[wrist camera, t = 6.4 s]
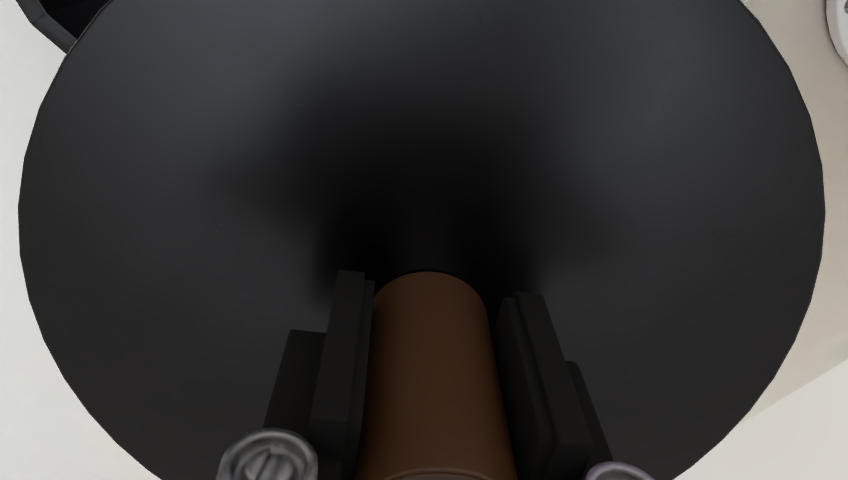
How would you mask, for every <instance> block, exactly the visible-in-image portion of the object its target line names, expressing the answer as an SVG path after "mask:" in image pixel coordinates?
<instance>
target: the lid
mask: <svg viewBox="0 0 848 480" xmlns="http://www.w3.org/2000/svg"><path fill="white" fill-rule="evenodd" d="M18 220H19V245H20V258H21V263H22V267H23V272H24V277H25V282H26V287H27V292H28V297H29V301H30V304H31V306H32V309H33V312H34V315H35V317H36V320H37V323H38V326H39V328H40V331H41V334H42V337H43V339H44V342H45V343H46V345H47V347H48V349H49V351H50V353H51V355H52V357H53V359H54V360H55V362H56V364H57V366H58V368H59V370H60V372H61V374H62V375H63V377H64V379H65V380H66V382H67V383H68V385H69V386H70V387H71V389H72V390H73V392H74V393H75V394H76V396H77V397H78V399H79V400H80V401H81V403H82V404H83V406H84V407H85V408H86V410H87V411H88V413H89V414H90V415H91V416H92V417H93V418H94V419H95V420H96V421H97V422H98V423H99V425H100V426H101V427H102V428H103V429H104V430H105V431H106V432H107V433H108V434H109V435H110V437H111V438H112V439H113V440H114V441H115V442H116V443H117V444H118V445H119V446H120V447H122V448H123V449H124V450H125V451H126V452H127V453H129V454H130V455H131V456H132V457H133V458H134V459H135V460H137V461H138V462H139V463H140V464H141V465H142V466H144V467H145V468H146V469H147V470H148V471H150V472H151V473H153V474H154V475H156V476H157V477H158V478H160V479H161V480H215V479H216V477H217V473H218V469H219V465H220V462H221V460H222V457H223V455H224V453H225V451H226V450H227V448H228V447H229V446H230V445H231V444H232V443H233V442H234V441H235V440H237V439H238V438H240V437H242V436H243V435H245V434H246V433H249V432H252V431H255V430H259V429H262V427H263V424H264V420H265V417H266V413H267V409H268V406H269V402H270V399H271V395H272V392H273V388H274V384H275V381H276V377H277V374H278V370H279V367H280V363H281V359H282V356H283V352H284V349H285V345H286V342H287V338H288V335H289V332H290V330H291V329H296V330H304V331H313V332H322V333H326V332H327V327H328V322H329V317H330V311H331V306H332V301H333V296H334V291H335V285H336V280H337V275H338V270H339V269H340V270H348V271H356V272H364V273H365V279H364V280H371V281H375V286H374V297H373V308H372V320H371V331H370V342H369V353H368V364H367V375H366V386H365V398H364V409H363V418H362V426H361V434H360V440H359V447H358V453H357V459H356V466H355V472H354V479H353V480H518V475H517V470H516V464H515V459H514V454H513V449H512V443H511V438H510V433H509V428H508V422H507V417H506V412H505V407H504V401H503V396H502V391H501V386H500V380H499V375H498V370H497V365H496V359H495V354H494V349H493V344H492V337H493V333H494V329H495V326H496V322H497V318H498V315H499V311H500V308H501V304H502V301H503V299H504V298H505V297H508V298H512V295H513V294H514V292H523V293H531V294H539V295H542V296H543V297H544V300H545V303H546V305H547V308H548V311H549V314H550V317H551V320H552V323H553V326H554V329H555V332H556V335H557V338H558V341H559V344H560V346H561V349H562V352H563V355H564V358H565V361H574V362H575V363H577V364H578V366H579V368H580V370H581V373H582V376H583V378H584V381H585V384H586V386H587V389H588V392H589V395H590V397H591V400H592V403H593V406H594V408H595V411H596V414H597V416H598V419H599V422H600V425H601V427H602V430H603V433H604V435H605V438H606V441H607V444H608V446H609V449H610V452H611V455H612V457H613V460H614V462H622V463H626V464H629V465H633V466H635V467H636V468H638V469H640V470H642V471H644V472H646V473H647V474H649V475H650V476H651V477H652V478H654V479H655V480H673V479H675V478H676V477H677V476H679V475H680V474H682V473H683V472H685V471H686V470H687V469H689V468H690V467H692V466H693V465H694V464H695V463H696V462H698V461H699V460H700V459H701V458H702V457H703V456H704V455H706V454H707V453H708V452H709V451H710V450H711V449H713V448H714V447H715V446H716V445H717V444H718V443H719V442H721V441H722V440H723V439H724V438H725V437H726V436H727V434H728V433H729V432H730V431H731V430H732V429H733V428H734V427H735V426H736V425H737V424H738V423H739V422H740V421H741V420H742V418H743V417H744V416H745V415H746V414H747V413H748V412H749V411H750V410H751V408H752V407H753V406H754V404H755V403H756V402H757V400H758V399H759V398H760V396H761V395H762V394H763V392H764V391H765V389H766V388H767V387H768V385H769V384H770V383H771V381H772V380H773V379H774V377H775V375H776V374H777V372H778V370H779V368H780V367H781V365H782V363H783V361H784V359H785V358H786V356H787V354H788V352H789V351H790V349H791V347H792V345H793V344H794V342H795V340H796V337H797V335H798V332H799V330H800V327H801V325H802V322H803V320H804V317H805V315H806V312H807V310H808V307H809V305H810V302H811V299H812V295H813V291H814V287H815V282H816V278H817V274H818V270H819V266H820V262H821V257H822V246H823V235H824V224H825V199H824V185H823V171H822V163H821V159H820V154H819V150H818V146H817V142H816V138H815V134H814V130H813V125H812V121H811V117H810V114H809V112H808V110H807V107H806V105H805V103H804V100H803V98H802V96H801V93H800V91H799V89H798V86H797V84H796V82H795V80H794V77H793V75H792V73H791V70H790V68H789V66H788V65H787V63H786V62H785V60H784V58H783V57H782V55H781V54H780V52H779V51H778V49H777V48H776V46H775V45H774V43H773V42H772V40H771V39H770V37H769V35H768V34H767V32H766V31H765V29H764V28H763V26H762V25H761V23H760V22H759V20H758V19H757V18H756V17H755V16H754V15H753V14H752V13H751V12H750V10H749V9H748V8H747V7H746V6H745V5H744V4H743V3H742V2H741V1H740V0H109V1H108V2H107V3H106V4H105V5H104V6H103V7H102V8H101V9H100V10H99V11H98V13H97V14H96V15H95V17H94V18H93V19H92V21H91V22H90V24H89V25H88V26H87V28H86V29H85V30H84V32H83V33H82V34H81V36H80V37H79V38H78V40H77V41H76V42H75V44H74V45H73V47H72V48H71V49H70V51H69V52H68V53H67V55H66V56H65V57H64V59H63V61H62V63H61V65H60V67H59V69H58V71H57V73H56V75H55V77H54V79H53V81H52V83H51V85H50V87H49V89H48V91H47V93H46V95H45V97H44V99H43V101H42V103H41V105H40V107H39V111H38V114H37V117H36V120H35V124H34V127H33V130H32V134H31V137H30V140H29V143H28V147H27V150H26V153H25V157H24V163H23V171H22V179H21V187H20V195H19V203H18Z"/></svg>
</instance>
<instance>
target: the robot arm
mask: <svg viewBox="0 0 848 480" xmlns="http://www.w3.org/2000/svg"><path fill="white" fill-rule="evenodd" d="M826 15H827V21H828V27H829V33H830V36H831V39H832V41H833V43H834V46H835V48H836V50H837V53H838V54H839V55H840V57H841V58H842V59H843V60H844V62H845V63H846V64H847V65H848V0H827V3H826ZM364 279H365V273H364V272H356V271H348V270H340V269H339V270H338V275H337V280H336V285H335V291H334V296H333V301H332V306H331V311H330V317H329V322H328V327H327V332H326V333H322V332H313V331H304V330H296V329H291V330H290V332H289V335H288V338H287V342H286V345H285V349H284V352H283V356H282V359H281V363H280V367H279V370H278V374H277V377H276V381H275V384H274V388H273V392H272V395H271V399H270V402H269V406H268V409H267V413H266V417H265V420H264V424H263V427H262V429H259V430H255V431H252V432H249V433H246V434H245V435H243V436H242V437H240V438H238V439H237V440H235V441H234V442H233V443H232V444H231V445H230V446H229V447H228V448H227V450H226V451H225V453H224V455H223V457H222V460H221V462H220V465H219V469H218V473H217V477H216V479H215V480H353V479H354V472H355V466H356V459H357V453H358V447H359V440H360V434H361V426H362V418H363V409H364V398H365V386H366V375H367V364H368V353H369V342H370V331H371V320H372V308H373V297H374V286H375V281H371V280H364ZM492 344H493V349H494V354H495V359H496V365H497V370H498V375H499V380H500V386H501V391H502V396H503V401H504V407H505V412H506V417H507V422H508V428H509V433H510V438H511V443H512V449H513V454H514V459H515V464H516V470H517V475H518V480H655V479H654V478H652V477H651V476H650V475H649V474H647V473H646V472H644V471H642V470H640V469H638V468H636V467H635V466H633V465H629V464H626V463H622V462H614V460H613V457H612V455H611V452H610V449H609V446H608V444H607V441H606V438H605V435H604V433H603V430H602V427H601V425H600V422H599V419H598V416H597V414H596V411H595V408H594V406H593V403H592V400H591V397H590V395H589V392H588V389H587V386H586V384H585V381H584V378H583V376H582V373H581V370H580V368H579V366H578V364H577V363H575V362H574V361H565V358H564V355H563V352H562V349H561V346H560V344H559V341H558V338H557V335H556V332H555V329H554V326H553V323H552V320H551V317H550V314H549V311H548V308H547V305H546V303H545V300H544V297H543V296H542V295H539V294H531V293H523V292H514V294H513V295H512V298H508V297H505V298H504V299H503V301H502V304H501V308H500V311H499V315H498V318H497V322H496V326H495V329H494V333H493V337H492Z"/></svg>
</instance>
